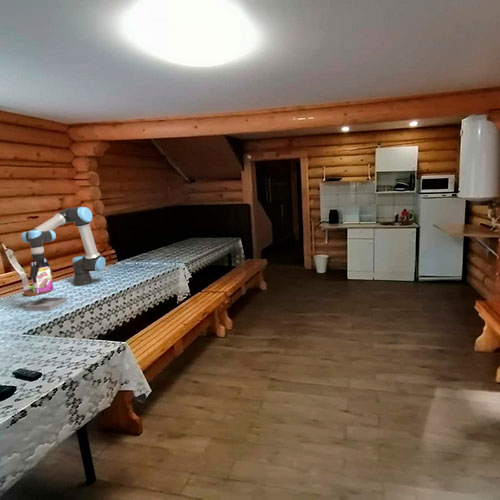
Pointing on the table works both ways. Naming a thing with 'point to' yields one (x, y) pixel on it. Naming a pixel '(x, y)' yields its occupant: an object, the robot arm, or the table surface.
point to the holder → (45, 304)
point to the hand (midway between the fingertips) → (43, 284)
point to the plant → (32, 292)
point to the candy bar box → (43, 280)
